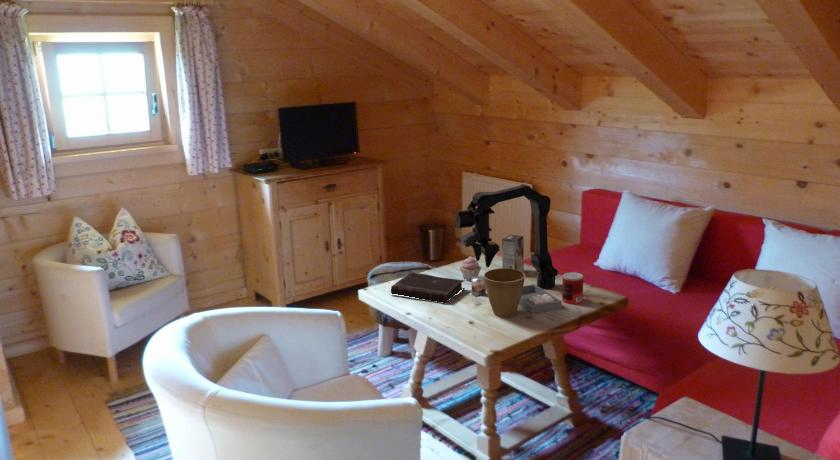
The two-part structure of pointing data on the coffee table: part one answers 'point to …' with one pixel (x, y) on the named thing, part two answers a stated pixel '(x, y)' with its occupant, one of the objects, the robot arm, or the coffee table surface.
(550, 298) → the egg carton
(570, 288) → the canned food
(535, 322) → the coffee table surface
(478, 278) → the steel tin
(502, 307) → the plant pot
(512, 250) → the coffee box
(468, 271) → the cupcake
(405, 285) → the diary
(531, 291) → the tote
